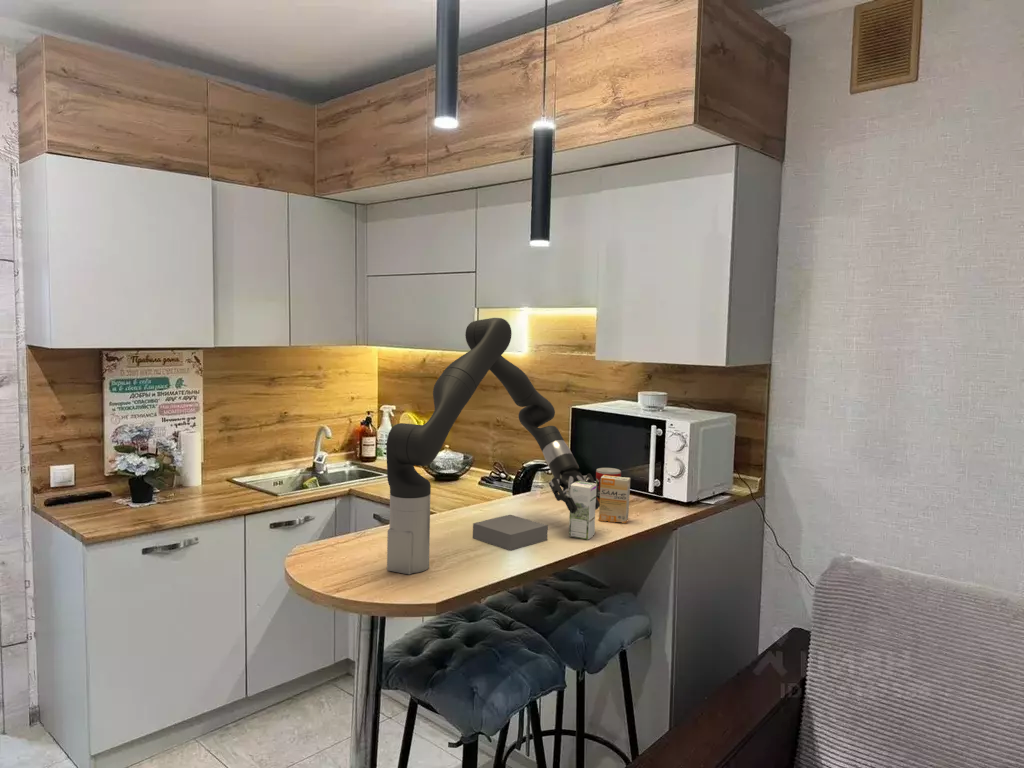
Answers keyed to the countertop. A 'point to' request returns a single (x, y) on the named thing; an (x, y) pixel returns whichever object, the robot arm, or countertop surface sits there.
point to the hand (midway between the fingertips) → (586, 509)
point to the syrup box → (583, 510)
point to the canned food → (605, 471)
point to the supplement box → (614, 499)
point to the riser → (510, 532)
